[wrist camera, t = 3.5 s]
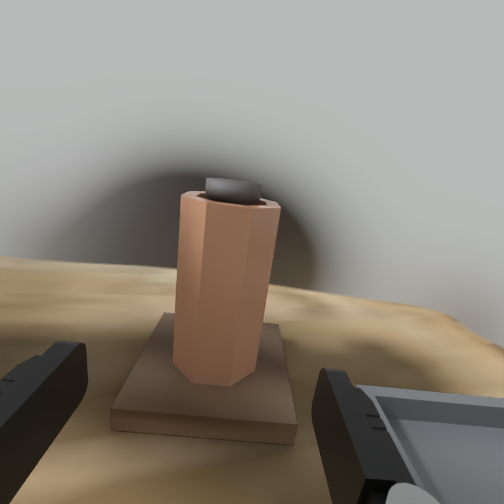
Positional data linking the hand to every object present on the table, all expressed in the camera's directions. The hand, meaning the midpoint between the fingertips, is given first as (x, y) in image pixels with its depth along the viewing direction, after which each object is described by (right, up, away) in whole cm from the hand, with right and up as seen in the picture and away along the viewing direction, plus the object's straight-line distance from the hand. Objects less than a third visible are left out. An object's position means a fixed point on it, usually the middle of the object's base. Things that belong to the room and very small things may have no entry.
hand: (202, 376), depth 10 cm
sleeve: (-1, -3, +10) cm, 11 cm away
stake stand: (-1, -4, +11) cm, 12 cm away
